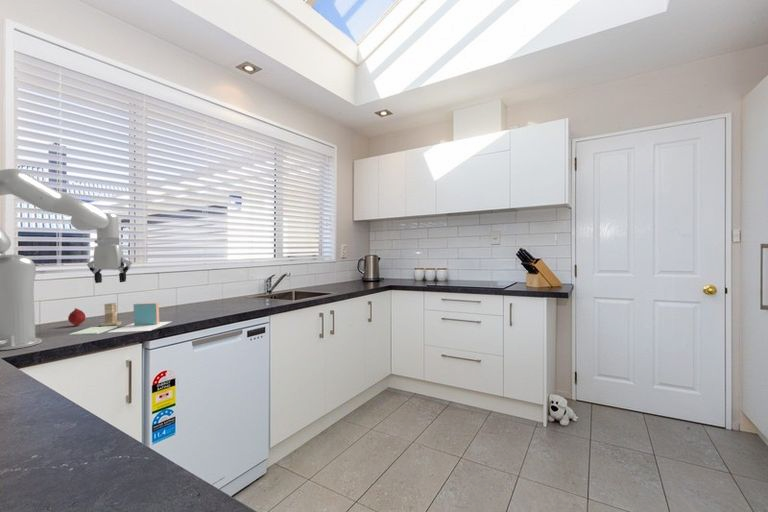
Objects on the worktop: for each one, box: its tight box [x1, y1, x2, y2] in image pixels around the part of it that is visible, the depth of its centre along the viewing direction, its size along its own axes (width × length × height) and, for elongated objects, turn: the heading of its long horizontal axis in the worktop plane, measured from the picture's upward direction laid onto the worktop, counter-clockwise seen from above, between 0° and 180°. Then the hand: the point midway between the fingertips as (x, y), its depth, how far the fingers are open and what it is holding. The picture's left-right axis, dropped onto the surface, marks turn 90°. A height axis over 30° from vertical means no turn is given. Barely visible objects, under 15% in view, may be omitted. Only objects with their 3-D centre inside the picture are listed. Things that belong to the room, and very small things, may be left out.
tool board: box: [68, 325, 118, 336], centre depth 144 cm, size 12×10×1 cm
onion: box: [67, 307, 86, 327], centre depth 159 cm, size 6×6×8 cm
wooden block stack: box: [100, 302, 122, 327], centre depth 155 cm, size 3×6×10 cm, turn 96°
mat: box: [108, 321, 171, 333], centre depth 150 cm, size 18×16×1 cm
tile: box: [133, 302, 160, 326], centre depth 154 cm, size 2×9×9 cm, turn 96°
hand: (110, 282), depth 155 cm, fingers open, 9 cm apart
